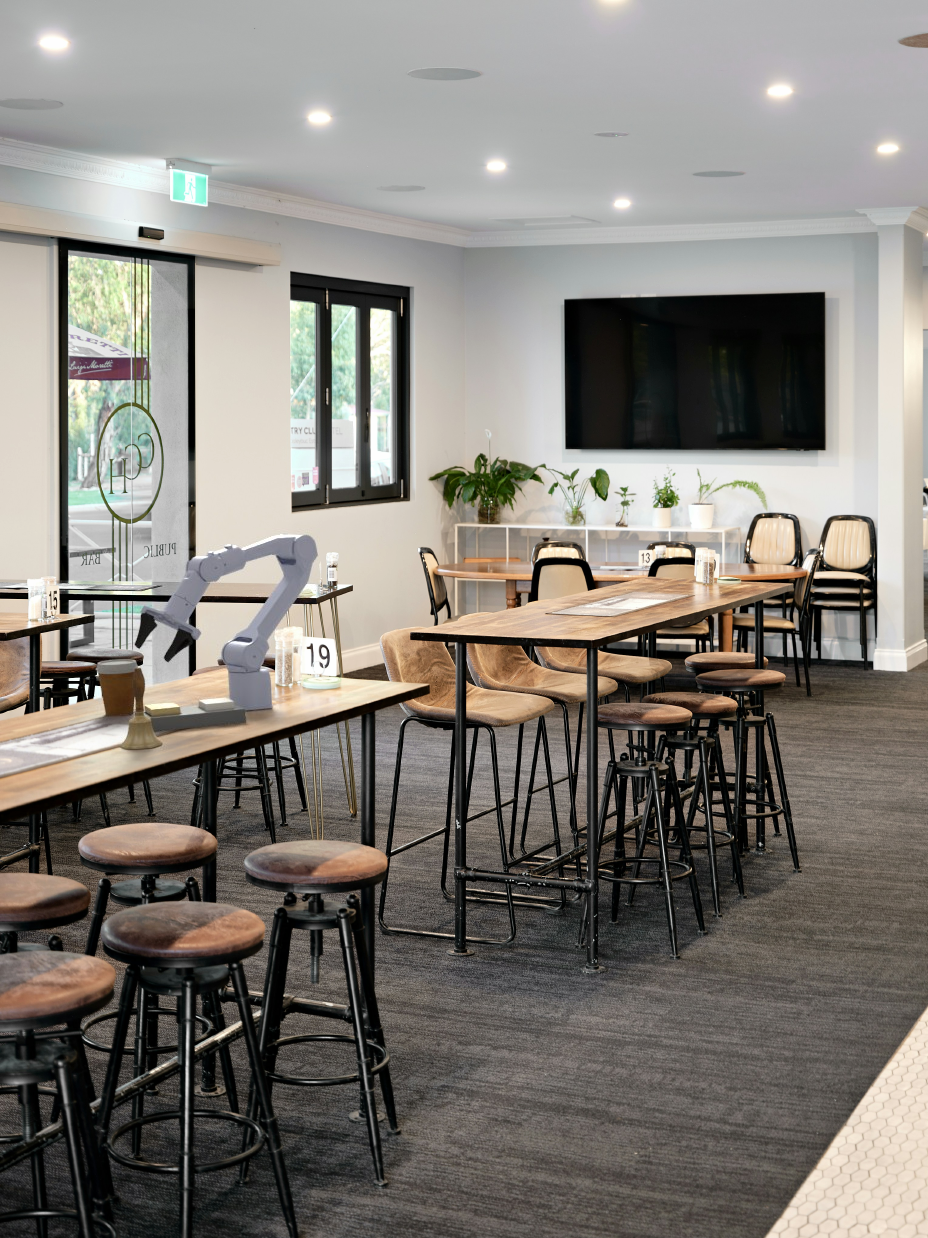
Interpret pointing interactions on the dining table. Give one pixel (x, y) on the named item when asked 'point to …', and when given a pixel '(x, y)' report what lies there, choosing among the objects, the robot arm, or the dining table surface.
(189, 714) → the panel
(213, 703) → the white button
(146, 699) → the dining table surface
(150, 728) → the hand bell
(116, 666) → the disposable coffee cup
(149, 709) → the brass button
